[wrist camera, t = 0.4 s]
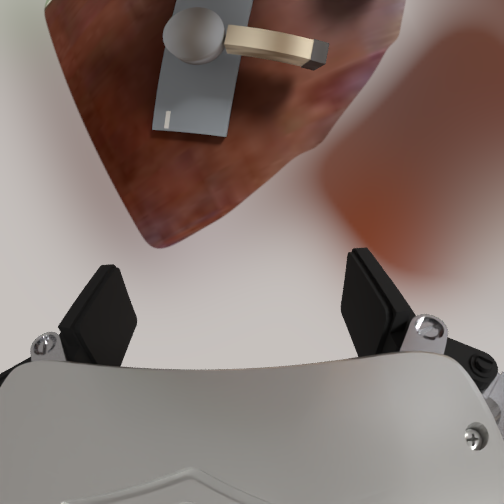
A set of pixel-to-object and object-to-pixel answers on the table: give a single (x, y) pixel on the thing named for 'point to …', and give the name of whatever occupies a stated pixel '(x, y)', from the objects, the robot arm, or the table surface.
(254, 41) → the lever handle
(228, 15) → the mount plate
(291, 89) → the table surface
